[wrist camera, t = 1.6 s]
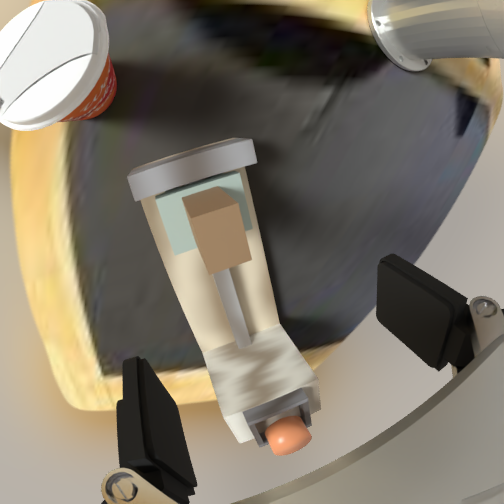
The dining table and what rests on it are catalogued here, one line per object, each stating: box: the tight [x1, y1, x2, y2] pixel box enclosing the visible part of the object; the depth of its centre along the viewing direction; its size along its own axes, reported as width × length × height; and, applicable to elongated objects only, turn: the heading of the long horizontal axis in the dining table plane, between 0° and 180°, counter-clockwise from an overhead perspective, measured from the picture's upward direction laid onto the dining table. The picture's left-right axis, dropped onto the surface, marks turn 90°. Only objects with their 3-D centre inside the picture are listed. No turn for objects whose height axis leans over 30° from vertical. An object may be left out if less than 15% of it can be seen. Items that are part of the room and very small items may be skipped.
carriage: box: [155, 171, 253, 275], centre depth 22 cm, size 7×5×9 cm
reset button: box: [265, 416, 312, 455], centre depth 24 cm, size 4×4×2 cm
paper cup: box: [0, 0, 117, 131], centre depth 14 cm, size 8×8×14 cm
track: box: [127, 138, 321, 447], centre depth 26 cm, size 10×28×13 cm, turn 13°
